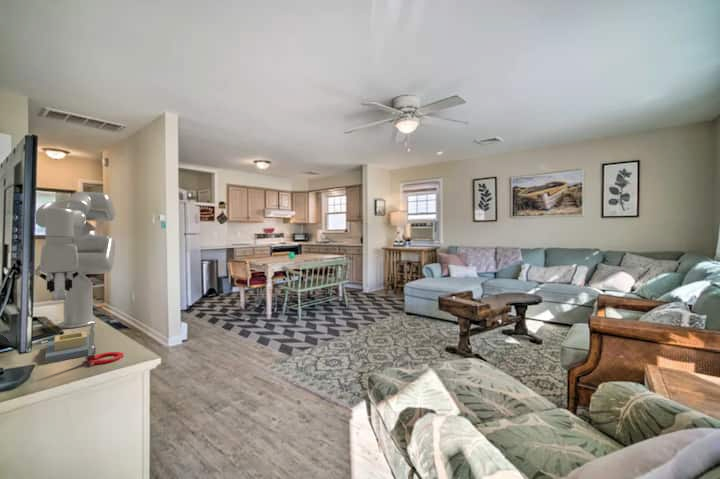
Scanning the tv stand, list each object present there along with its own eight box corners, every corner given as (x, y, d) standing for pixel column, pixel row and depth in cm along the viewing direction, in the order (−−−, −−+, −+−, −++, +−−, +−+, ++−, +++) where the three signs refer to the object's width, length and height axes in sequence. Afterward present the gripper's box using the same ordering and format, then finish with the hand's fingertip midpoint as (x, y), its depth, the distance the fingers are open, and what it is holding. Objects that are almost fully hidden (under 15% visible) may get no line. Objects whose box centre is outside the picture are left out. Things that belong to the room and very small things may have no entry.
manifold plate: (47, 347, 110) (47, 333, 110) (91, 339, 118) (91, 326, 118) (45, 363, 97) (45, 347, 97) (95, 353, 105) (95, 339, 105)
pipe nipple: (52, 299, 115) (52, 272, 114) (67, 297, 117) (67, 271, 117) (51, 301, 112) (51, 273, 112) (67, 299, 114) (67, 272, 114)
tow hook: (119, 353, 107) (84, 360, 100) (121, 316, 108) (86, 320, 100) (126, 360, 102) (89, 368, 95) (128, 321, 102) (92, 325, 95)
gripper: (89, 241, 123) (89, 287, 123) (27, 241, 111) (27, 292, 111) (90, 241, 117) (90, 289, 117) (25, 241, 106) (25, 295, 106)
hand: (59, 290), depth 114 cm, fingers closed on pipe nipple, 4 cm apart
